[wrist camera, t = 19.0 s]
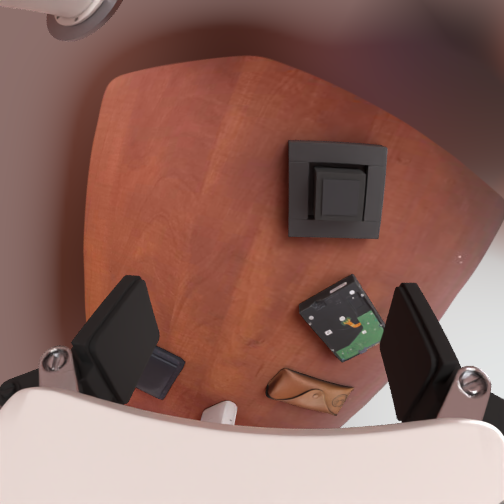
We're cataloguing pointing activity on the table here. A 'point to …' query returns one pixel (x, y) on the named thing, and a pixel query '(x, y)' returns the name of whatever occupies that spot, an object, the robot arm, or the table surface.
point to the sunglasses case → (307, 392)
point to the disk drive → (344, 318)
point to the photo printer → (221, 413)
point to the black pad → (338, 193)
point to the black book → (160, 373)
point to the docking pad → (335, 155)
